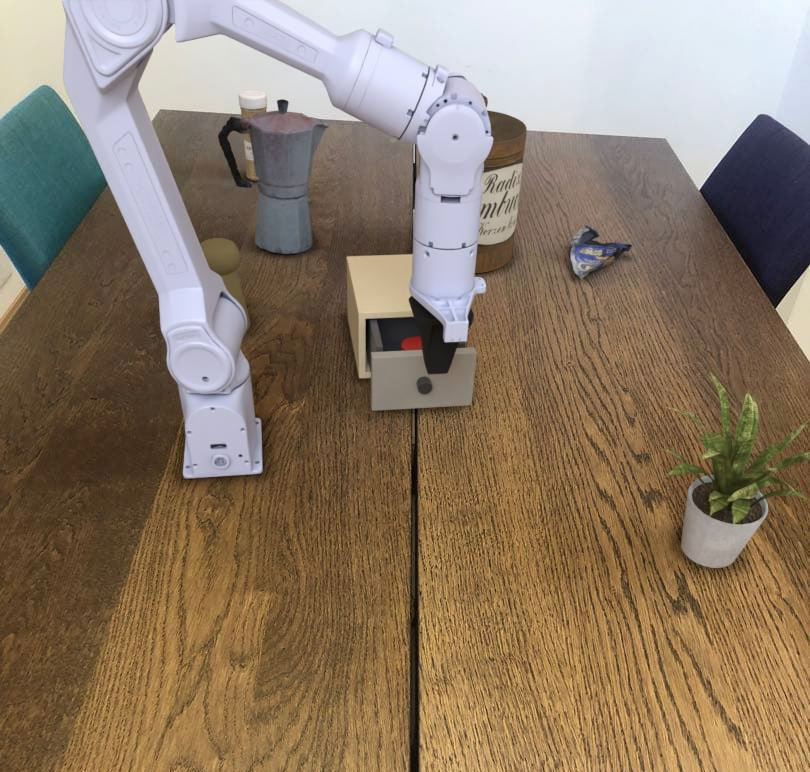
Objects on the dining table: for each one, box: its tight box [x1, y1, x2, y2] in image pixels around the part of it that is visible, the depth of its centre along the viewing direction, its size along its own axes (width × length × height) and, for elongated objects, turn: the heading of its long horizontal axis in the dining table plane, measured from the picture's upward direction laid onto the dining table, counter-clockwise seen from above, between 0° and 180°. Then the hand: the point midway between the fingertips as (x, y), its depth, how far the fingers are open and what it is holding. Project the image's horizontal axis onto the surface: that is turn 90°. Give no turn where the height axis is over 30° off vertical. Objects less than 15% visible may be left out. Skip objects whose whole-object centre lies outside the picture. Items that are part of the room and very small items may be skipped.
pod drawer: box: [366, 317, 478, 412], centre depth 94 cm, size 15×11×7 cm
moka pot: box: [217, 98, 329, 255], centre depth 117 cm, size 10×15×20 cm, turn 112°
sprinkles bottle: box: [238, 89, 268, 182], centre depth 139 cm, size 5×5×14 cm
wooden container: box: [417, 92, 528, 274], centre depth 116 cm, size 15×15×22 cm
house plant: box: [658, 370, 810, 569], centre depth 73 cm, size 14×14×16 cm
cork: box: [199, 237, 252, 332], centre depth 102 cm, size 6×6×11 cm
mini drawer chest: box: [346, 253, 414, 379], centre depth 101 cm, size 15×13×9 cm
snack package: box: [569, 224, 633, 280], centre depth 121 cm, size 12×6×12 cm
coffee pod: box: [401, 337, 422, 351], centre depth 94 cm, size 4×4×4 cm
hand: (436, 370), depth 81 cm, fingers closed
